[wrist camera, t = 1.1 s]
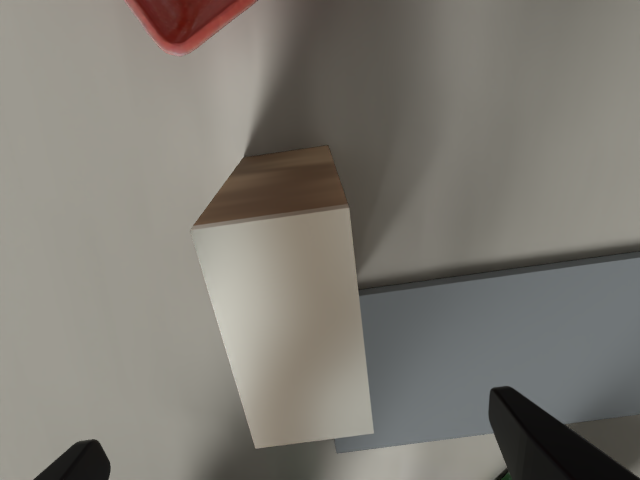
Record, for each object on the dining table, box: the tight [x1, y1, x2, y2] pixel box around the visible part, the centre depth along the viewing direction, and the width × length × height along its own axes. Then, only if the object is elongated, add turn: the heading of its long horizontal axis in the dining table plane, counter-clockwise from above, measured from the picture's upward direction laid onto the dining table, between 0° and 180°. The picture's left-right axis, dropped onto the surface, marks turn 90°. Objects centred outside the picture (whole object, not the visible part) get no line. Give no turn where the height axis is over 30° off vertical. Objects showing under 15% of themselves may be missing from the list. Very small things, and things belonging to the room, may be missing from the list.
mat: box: [334, 251, 640, 453], centre depth 23 cm, size 20×12×1 cm, turn 98°
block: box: [190, 145, 374, 449], centre depth 15 cm, size 4×8×9 cm, turn 8°
